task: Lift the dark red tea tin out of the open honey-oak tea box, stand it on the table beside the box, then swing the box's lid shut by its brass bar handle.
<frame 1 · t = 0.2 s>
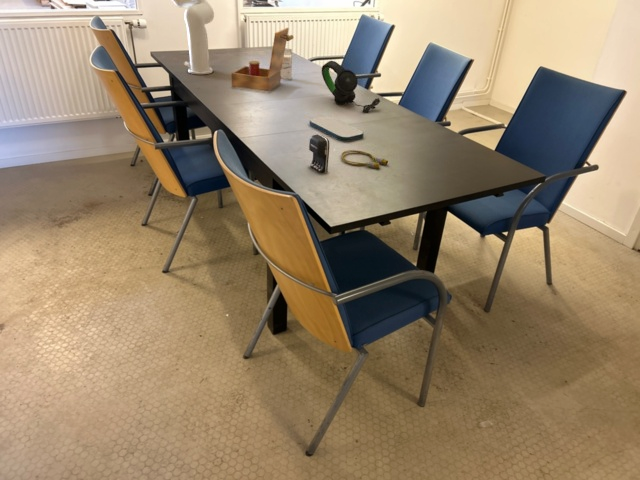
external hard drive: (335, 131, 192), on the table
extension cord: (361, 161, 168), on the table
battery charger: (317, 170, 160), on the table
headset: (347, 105, 222), on the table
tea box: (256, 86, 239), on the table
tea tin: (254, 85, 236), point 1 cm above the table, touching tea box
ink cartridge box: (282, 79, 253), on the table
tea box lid: (283, 53, 227), point 17 cm above the table, hinge at 100.0°
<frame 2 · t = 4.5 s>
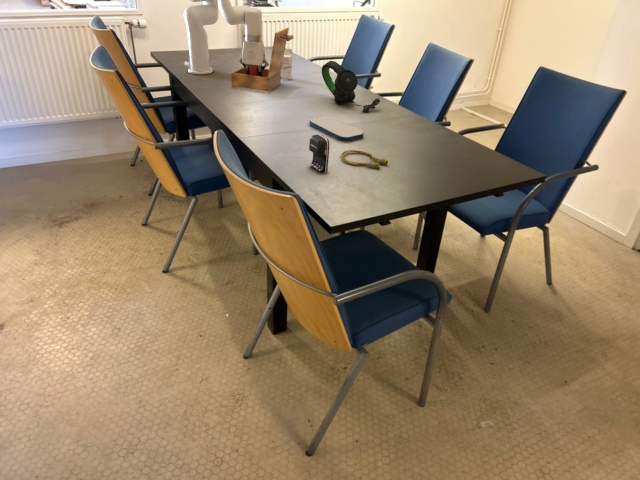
hand: (254, 78, 235), 4 cm above the table, tool pointing down, fingers closed on tea tin, 4 cm apart
tea tin: (254, 85, 236), point 1 cm above the table, touching gripper, tea box
everything else where it was.
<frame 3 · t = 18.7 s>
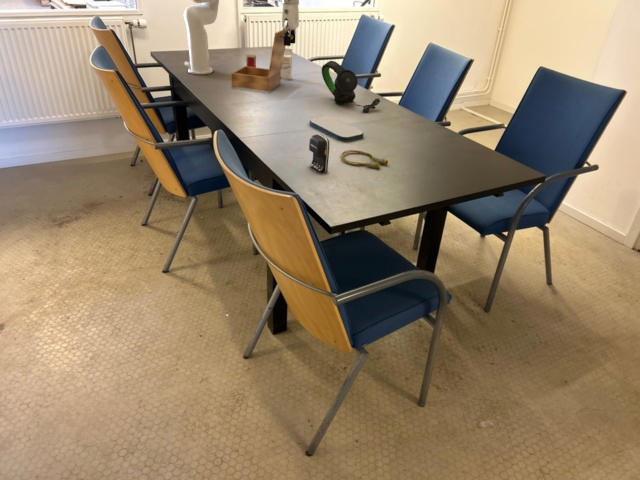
hand: (289, 44, 224), 21 cm above the table, tool pointing down, fingers closed on tea box lid, 5 cm apart
tea tin: (251, 78, 251), on the table
tea box lid: (283, 53, 227), point 17 cm above the table, hinge at 100.0°, touching gripper
everything else where it was.
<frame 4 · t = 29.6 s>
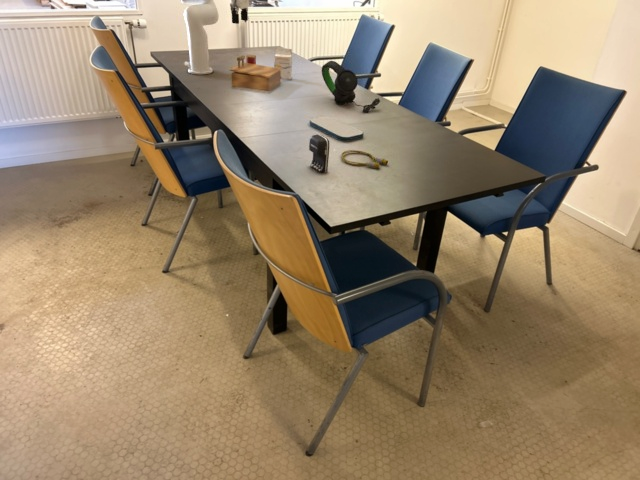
hand: (240, 21, 225), 28 cm above the table, tool pointing down, fingers open, 9 cm apart
tea box lid: (255, 64, 234), point 10 cm above the table, hinge at 2.7°
everything else where it was.
at the end: tea tin inside the target area (0.2 cm from its centre), on the table; tea tin tilted 0°; tea box lid at +3° (first picture: +100°) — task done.
